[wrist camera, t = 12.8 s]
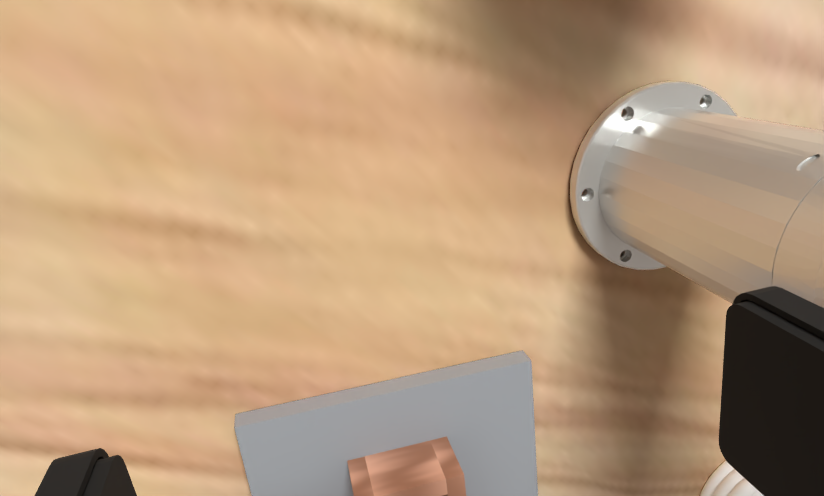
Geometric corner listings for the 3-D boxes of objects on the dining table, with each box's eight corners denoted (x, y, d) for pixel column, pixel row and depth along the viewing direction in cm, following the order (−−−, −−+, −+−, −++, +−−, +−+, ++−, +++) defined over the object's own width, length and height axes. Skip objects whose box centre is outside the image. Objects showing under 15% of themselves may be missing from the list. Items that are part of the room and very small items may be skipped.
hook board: (522, 350, 43) (531, 360, 42) (532, 524, 49) (540, 538, 47) (235, 414, 40) (234, 427, 38) (280, 594, 45) (281, 611, 44)
